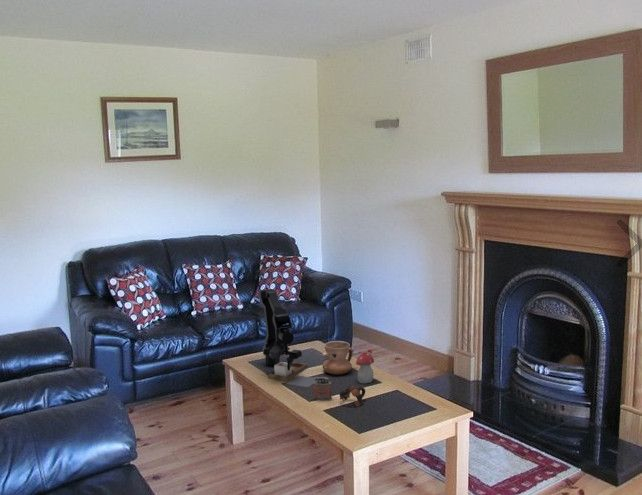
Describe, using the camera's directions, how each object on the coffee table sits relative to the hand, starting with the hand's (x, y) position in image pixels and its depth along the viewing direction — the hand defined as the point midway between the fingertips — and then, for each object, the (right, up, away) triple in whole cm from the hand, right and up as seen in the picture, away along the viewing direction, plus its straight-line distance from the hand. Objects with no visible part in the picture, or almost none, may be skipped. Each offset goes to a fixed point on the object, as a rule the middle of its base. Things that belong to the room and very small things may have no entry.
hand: (283, 369), depth 293 cm
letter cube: (0, -3, 0) cm, 3 cm away
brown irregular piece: (+33, -8, -33) cm, 47 cm away
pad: (+10, -5, -7) cm, 13 cm away
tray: (+2, -3, +5) cm, 6 cm away
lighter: (+19, -8, -28) cm, 35 cm away
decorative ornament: (+39, -4, -8) cm, 40 cm away
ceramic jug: (+27, -3, +6) cm, 28 cm away
